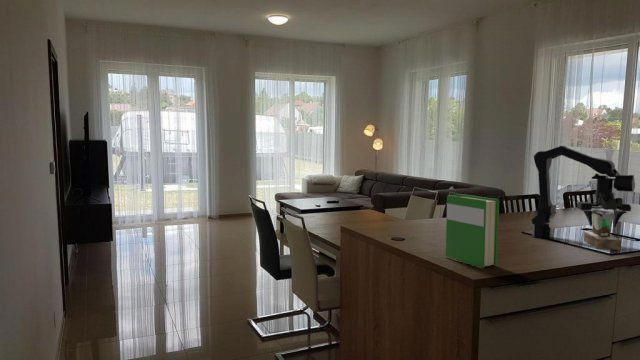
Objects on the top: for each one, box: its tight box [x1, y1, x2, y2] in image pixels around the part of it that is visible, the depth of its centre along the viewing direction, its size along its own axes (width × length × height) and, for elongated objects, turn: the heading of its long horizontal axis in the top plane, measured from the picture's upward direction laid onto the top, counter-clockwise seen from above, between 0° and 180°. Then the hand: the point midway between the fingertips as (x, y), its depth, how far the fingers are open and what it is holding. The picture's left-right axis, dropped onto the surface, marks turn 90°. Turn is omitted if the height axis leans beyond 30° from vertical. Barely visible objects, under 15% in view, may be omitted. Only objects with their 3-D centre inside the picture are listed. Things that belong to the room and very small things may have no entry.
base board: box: [583, 231, 622, 251], centre depth 192 cm, size 9×15×4 cm, turn 167°
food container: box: [591, 209, 615, 237], centre depth 191 cm, size 12×6×10 cm, turn 167°
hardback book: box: [445, 194, 500, 269], centre depth 165 cm, size 18×7×24 cm, turn 28°
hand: (602, 226), depth 191 cm, fingers open, 9 cm apart
